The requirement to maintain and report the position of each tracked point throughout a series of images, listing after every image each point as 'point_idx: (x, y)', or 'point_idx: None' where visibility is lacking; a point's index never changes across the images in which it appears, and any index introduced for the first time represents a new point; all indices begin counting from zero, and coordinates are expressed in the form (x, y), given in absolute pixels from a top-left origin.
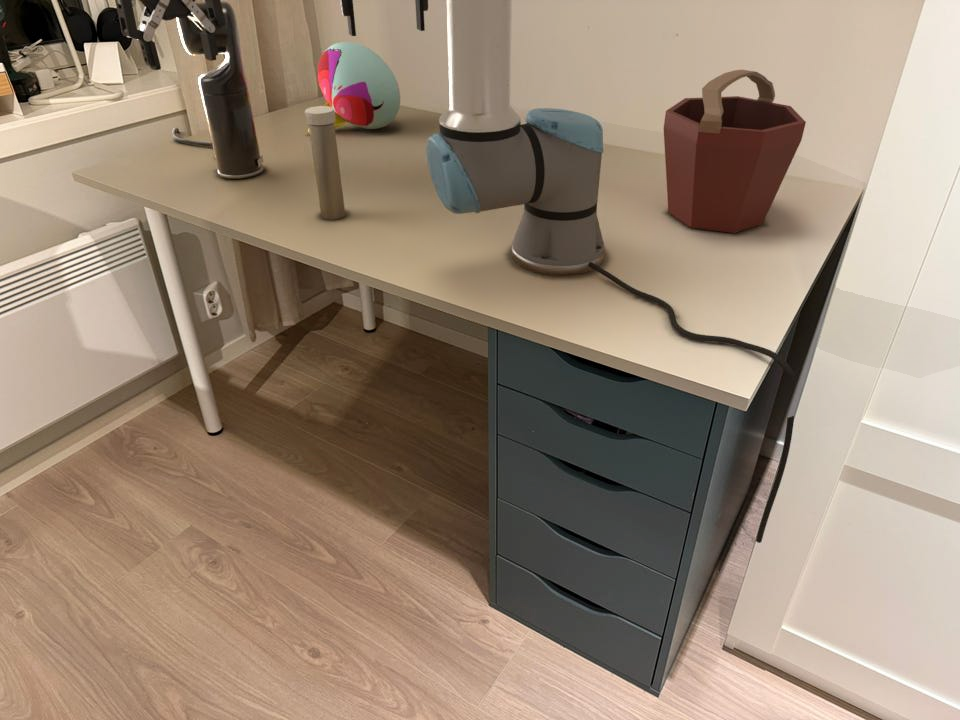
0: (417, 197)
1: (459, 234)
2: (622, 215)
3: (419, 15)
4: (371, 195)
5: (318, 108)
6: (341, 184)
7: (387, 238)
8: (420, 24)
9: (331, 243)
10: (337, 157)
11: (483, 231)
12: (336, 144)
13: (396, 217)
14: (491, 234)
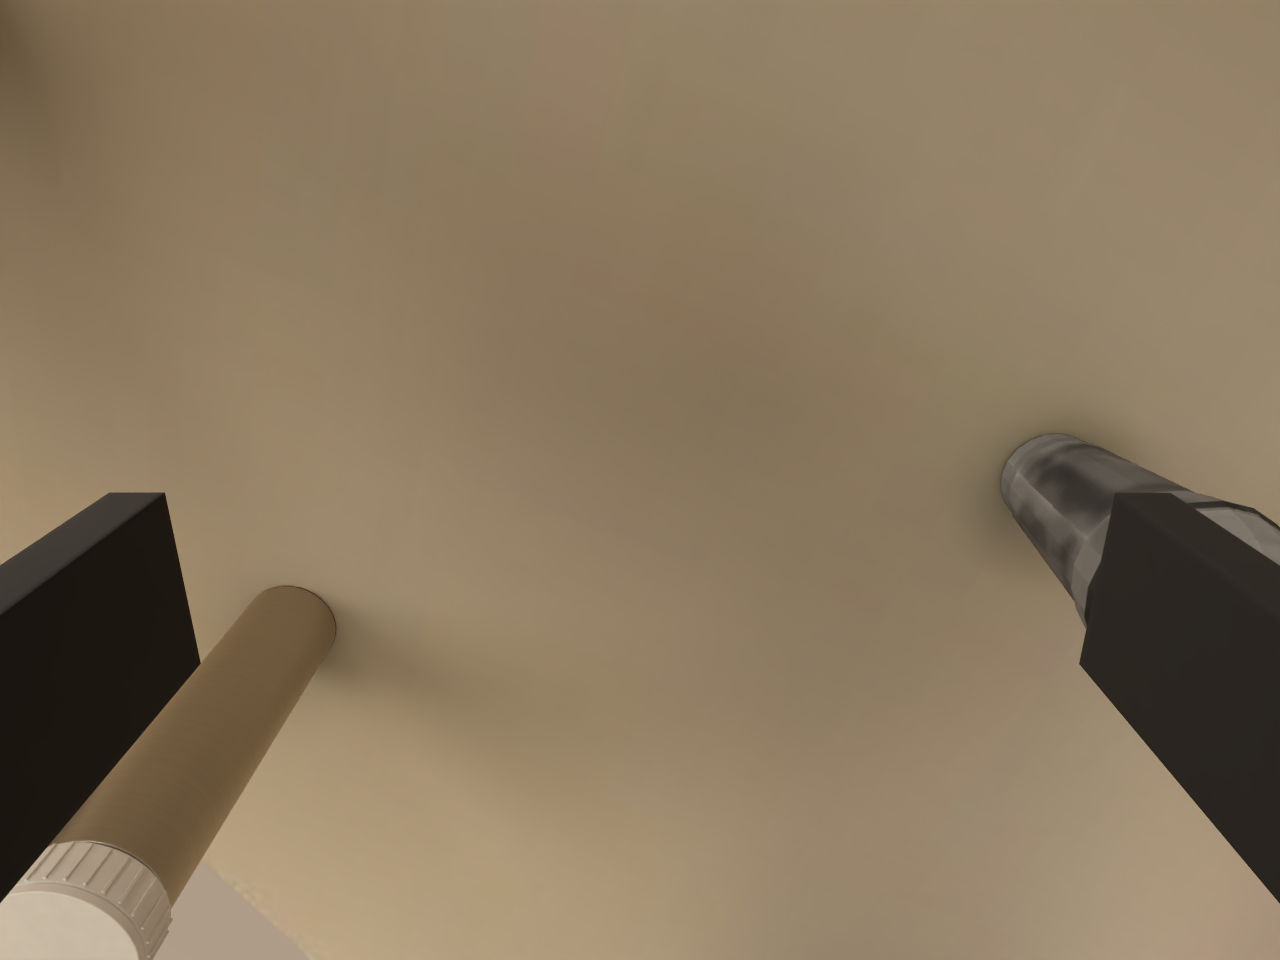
0: (635, 579)
1: (661, 886)
2: (1184, 935)
3: (1192, 756)
4: (464, 492)
5: (49, 933)
6: (292, 706)
7: (444, 841)
8: (1119, 702)
9: (270, 816)
10: (240, 794)
11: (737, 892)
12: (218, 830)
13: (509, 716)
14: (750, 915)
